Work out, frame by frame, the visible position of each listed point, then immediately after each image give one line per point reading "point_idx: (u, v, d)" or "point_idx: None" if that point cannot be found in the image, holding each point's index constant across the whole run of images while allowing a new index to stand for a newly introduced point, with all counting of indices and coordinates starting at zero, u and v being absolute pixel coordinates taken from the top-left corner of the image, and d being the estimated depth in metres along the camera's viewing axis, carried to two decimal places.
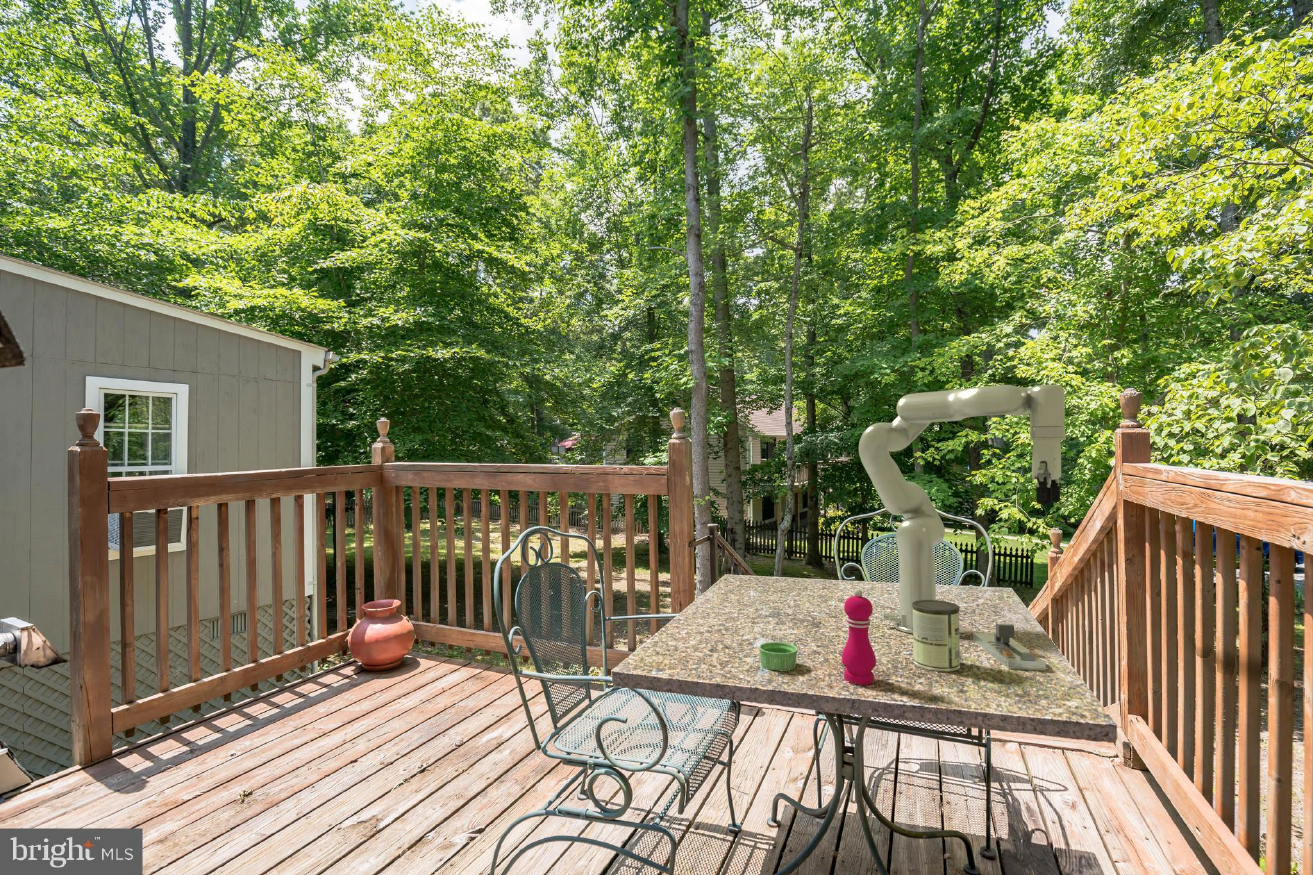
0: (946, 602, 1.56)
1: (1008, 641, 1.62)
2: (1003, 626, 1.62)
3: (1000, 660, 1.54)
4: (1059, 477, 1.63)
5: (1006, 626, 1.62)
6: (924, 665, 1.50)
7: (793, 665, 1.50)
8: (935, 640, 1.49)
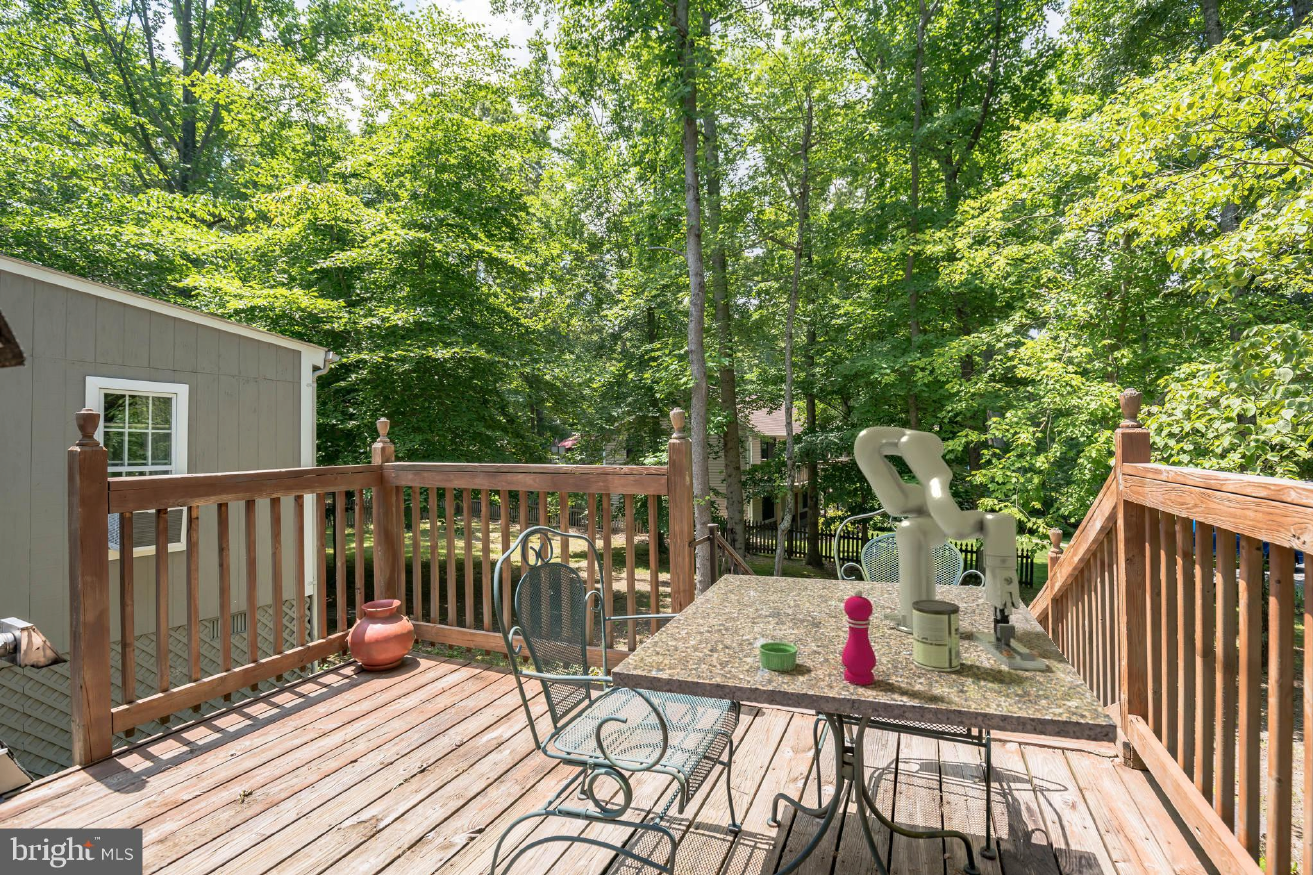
0: (946, 602, 1.56)
1: (1009, 642, 1.61)
2: (1004, 627, 1.61)
3: (1000, 660, 1.54)
4: (996, 606, 1.63)
5: (1007, 627, 1.61)
6: (924, 665, 1.50)
7: (793, 665, 1.50)
8: (935, 640, 1.49)
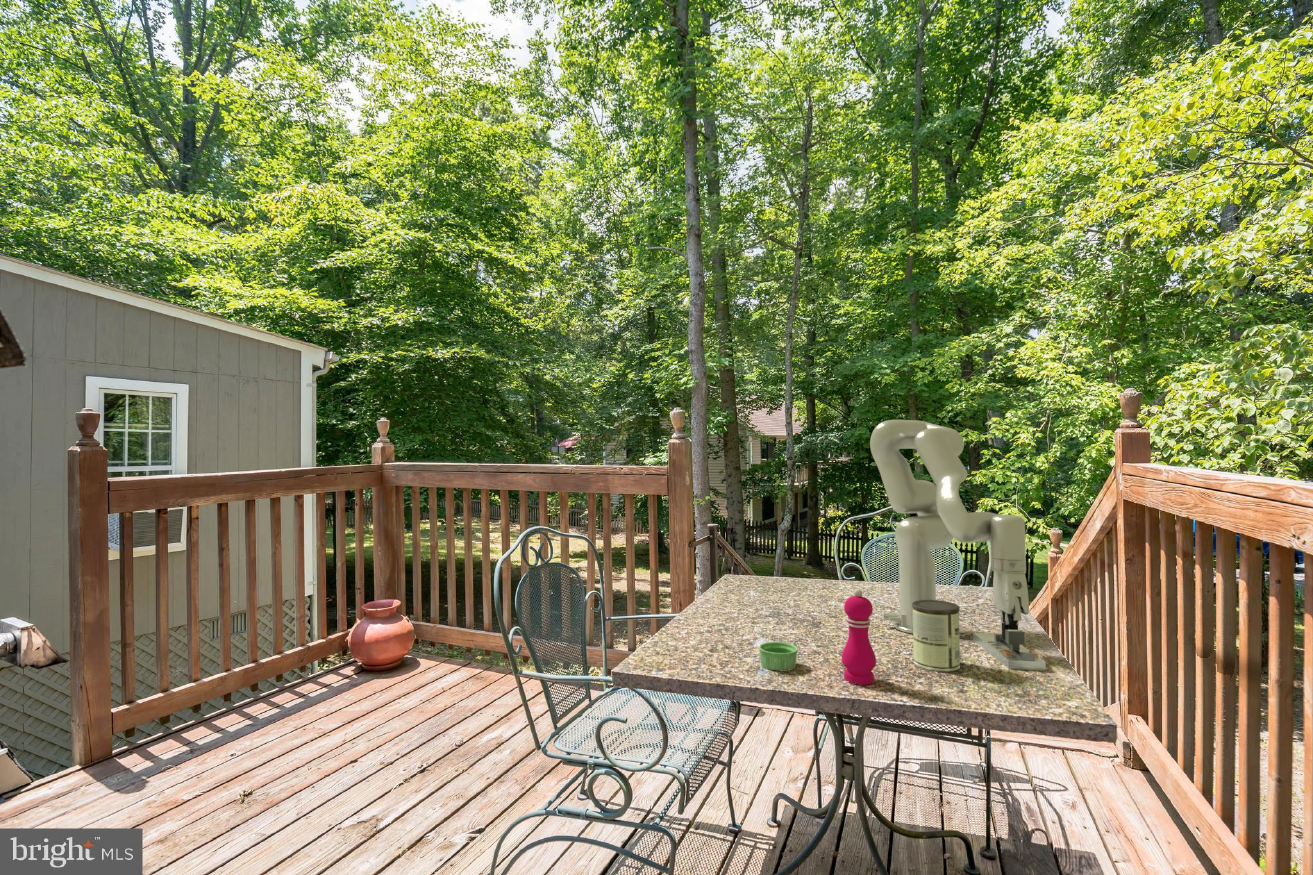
0: (946, 602, 1.56)
1: (1018, 648, 1.56)
2: (1013, 633, 1.56)
3: (1000, 660, 1.54)
4: (1005, 611, 1.58)
5: (1016, 633, 1.56)
6: (924, 665, 1.50)
7: (793, 665, 1.50)
8: (935, 640, 1.49)
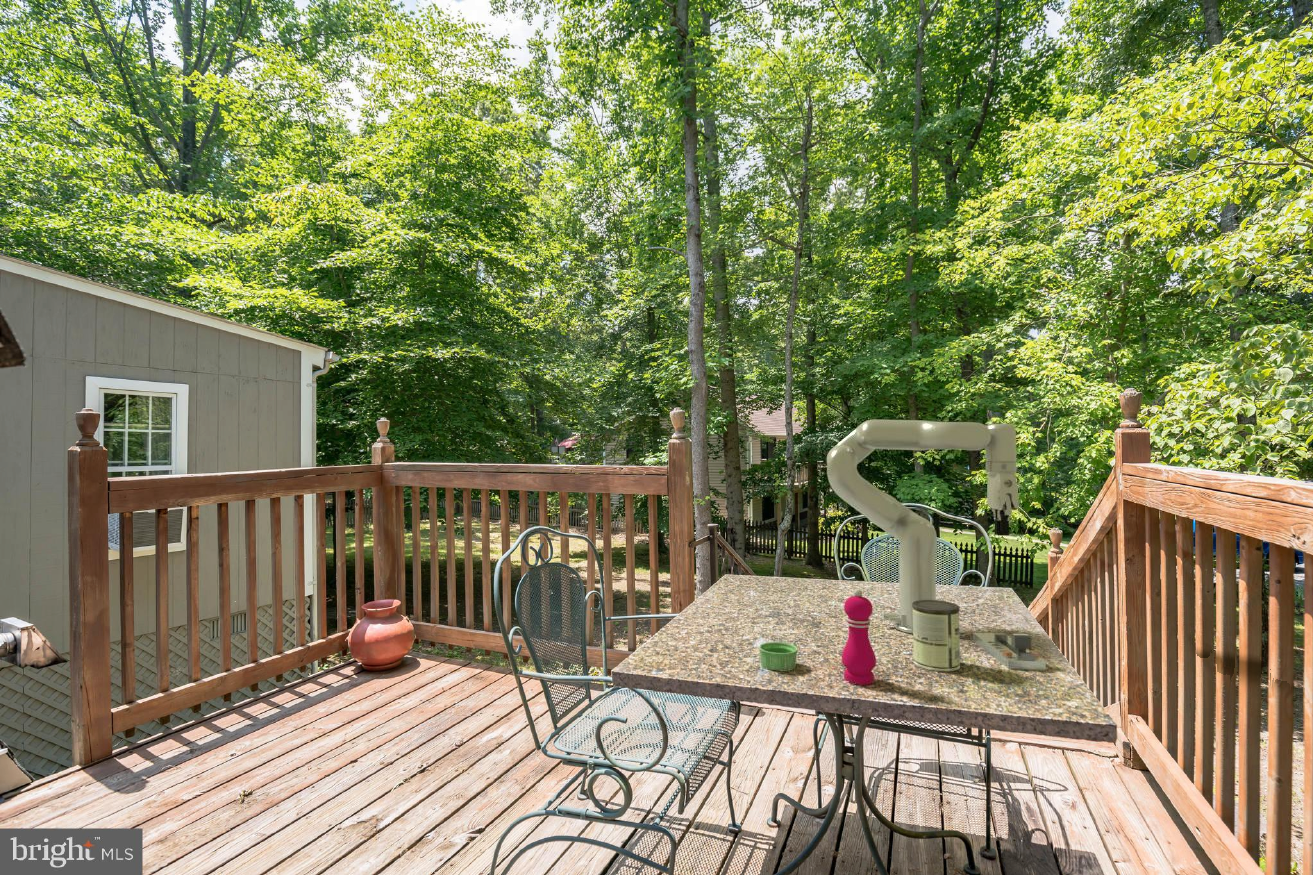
0: (946, 602, 1.56)
1: None
2: (1019, 637, 1.53)
3: (1000, 660, 1.54)
4: (997, 508, 1.77)
5: (1022, 637, 1.52)
6: (924, 665, 1.50)
7: (793, 665, 1.50)
8: (935, 640, 1.49)
